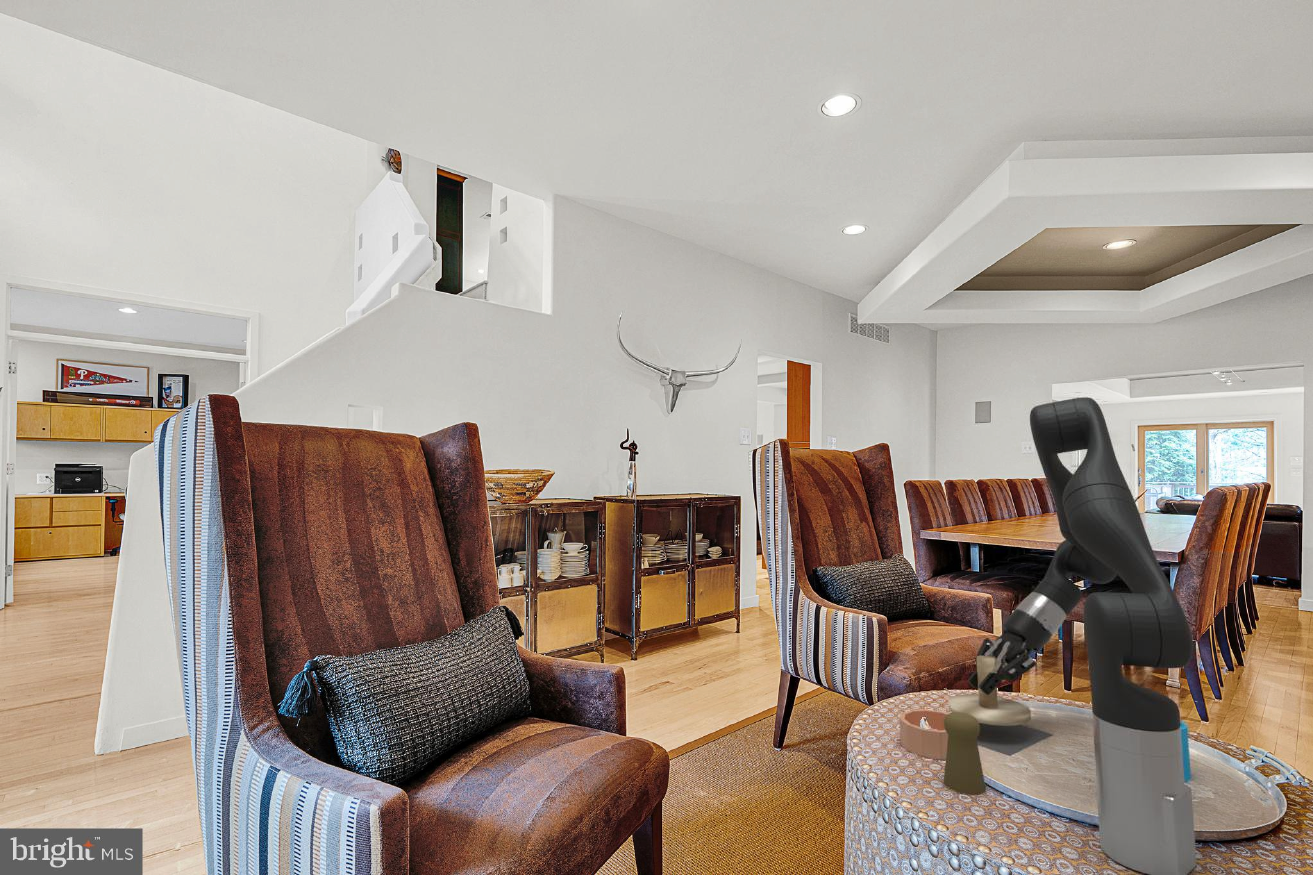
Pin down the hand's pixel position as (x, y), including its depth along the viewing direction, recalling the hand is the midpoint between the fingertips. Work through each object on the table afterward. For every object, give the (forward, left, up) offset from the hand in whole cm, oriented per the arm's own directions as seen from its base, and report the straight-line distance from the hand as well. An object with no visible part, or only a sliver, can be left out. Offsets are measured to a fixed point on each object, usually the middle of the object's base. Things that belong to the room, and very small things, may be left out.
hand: (977, 687), depth 123 cm
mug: (-24, -8, -9) cm, 27 cm away
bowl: (+1, +13, -9) cm, 16 cm away
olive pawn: (-10, +22, -9) cm, 26 cm away
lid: (-1, -2, -5) cm, 5 cm away
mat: (-1, -2, -9) cm, 9 cm away
